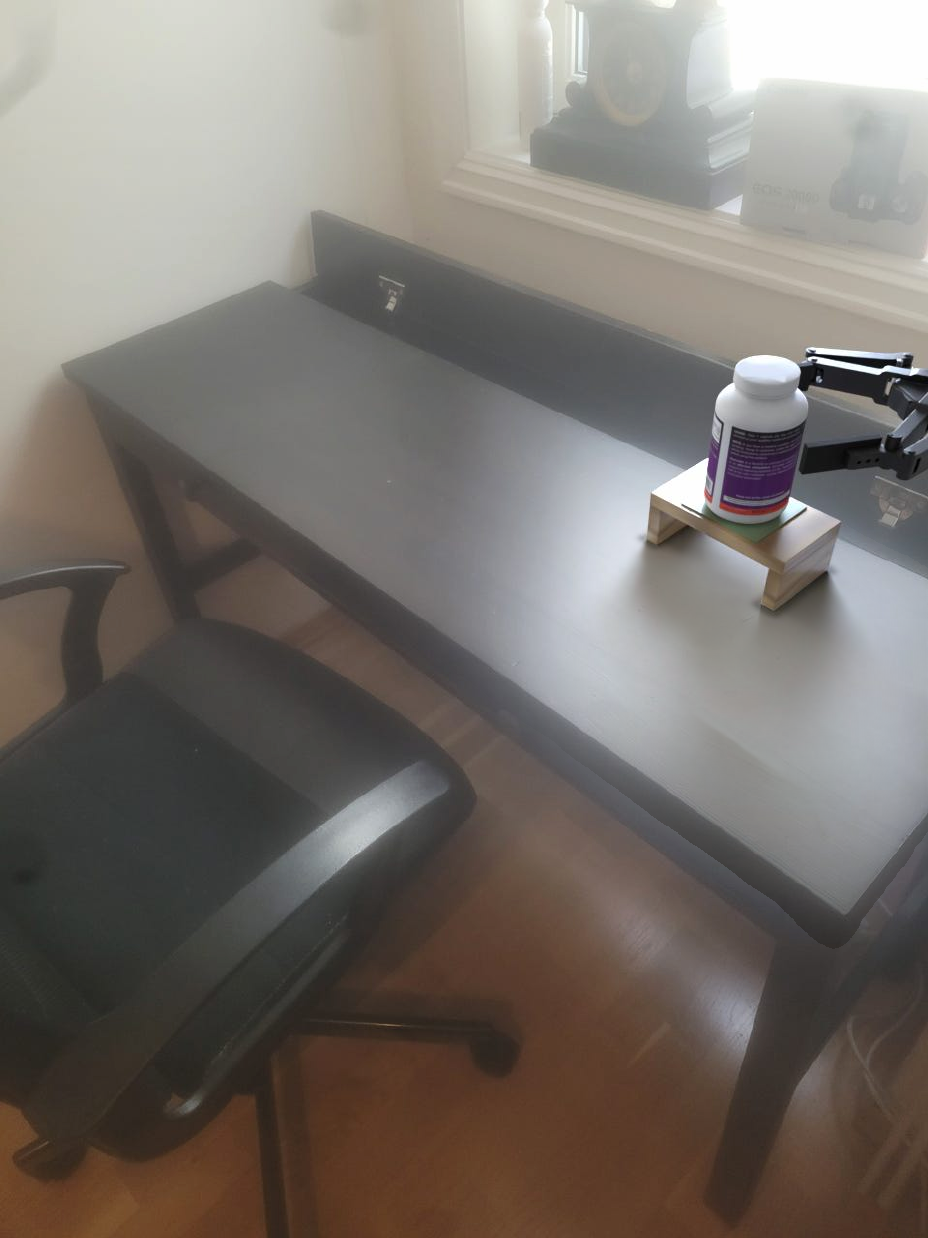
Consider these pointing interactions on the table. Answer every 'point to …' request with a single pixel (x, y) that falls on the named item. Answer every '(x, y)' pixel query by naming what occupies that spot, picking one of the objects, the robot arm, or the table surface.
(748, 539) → the shelf
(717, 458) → the pill bottle
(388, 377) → the table surface
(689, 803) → the table surface
